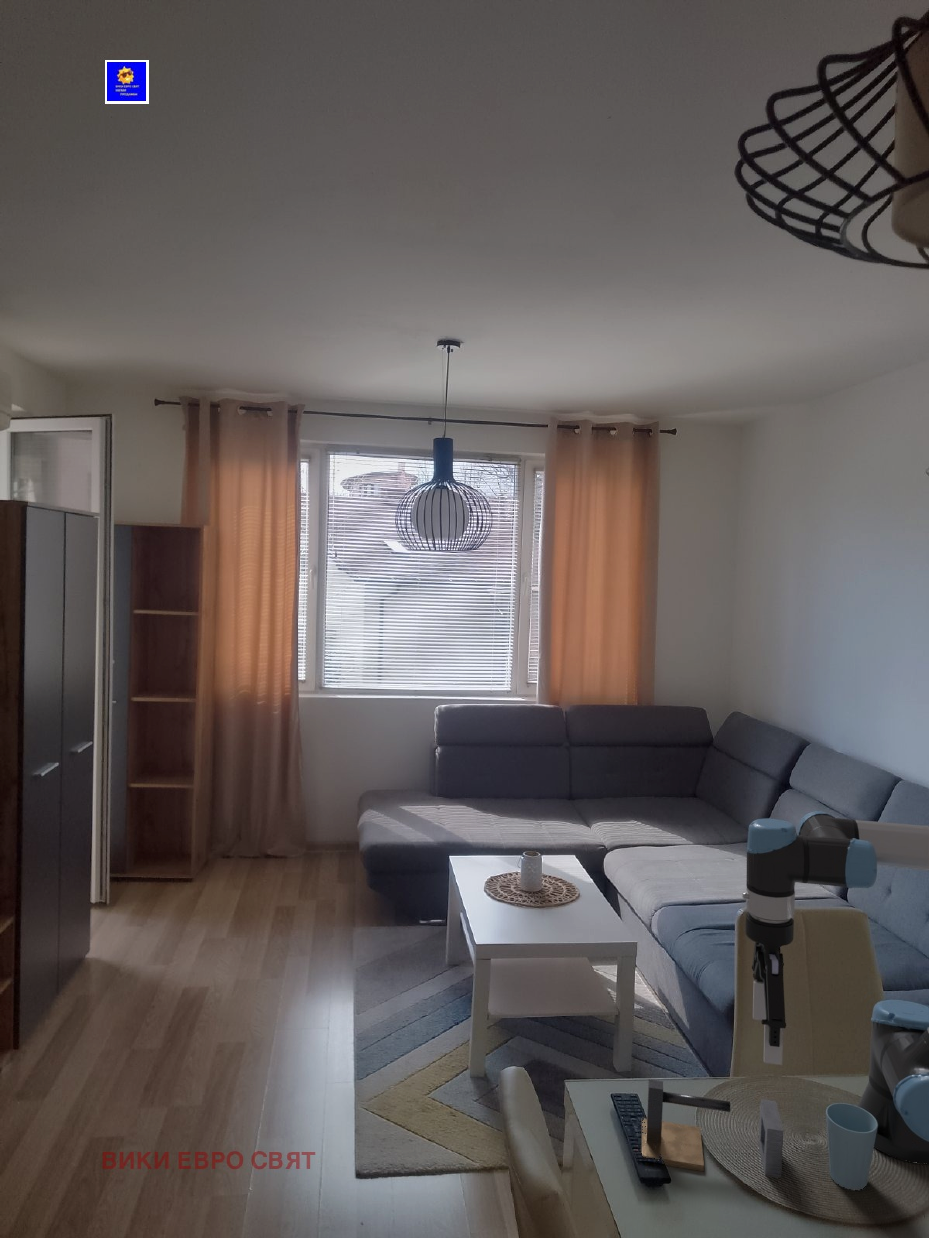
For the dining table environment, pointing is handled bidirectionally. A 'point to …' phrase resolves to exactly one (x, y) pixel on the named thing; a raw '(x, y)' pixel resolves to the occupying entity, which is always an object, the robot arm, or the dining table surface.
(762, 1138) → the link
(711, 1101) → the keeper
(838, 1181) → the cup
